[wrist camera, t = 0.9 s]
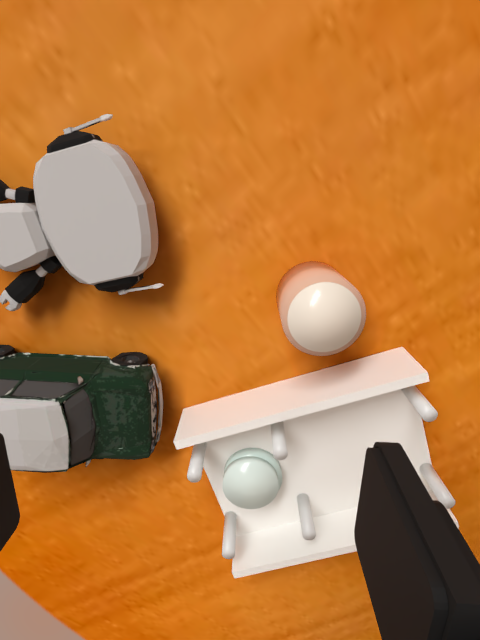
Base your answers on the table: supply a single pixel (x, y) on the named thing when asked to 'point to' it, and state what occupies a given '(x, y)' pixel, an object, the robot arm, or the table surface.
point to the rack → (311, 454)
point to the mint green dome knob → (251, 478)
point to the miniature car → (77, 408)
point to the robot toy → (79, 219)
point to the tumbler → (319, 309)
